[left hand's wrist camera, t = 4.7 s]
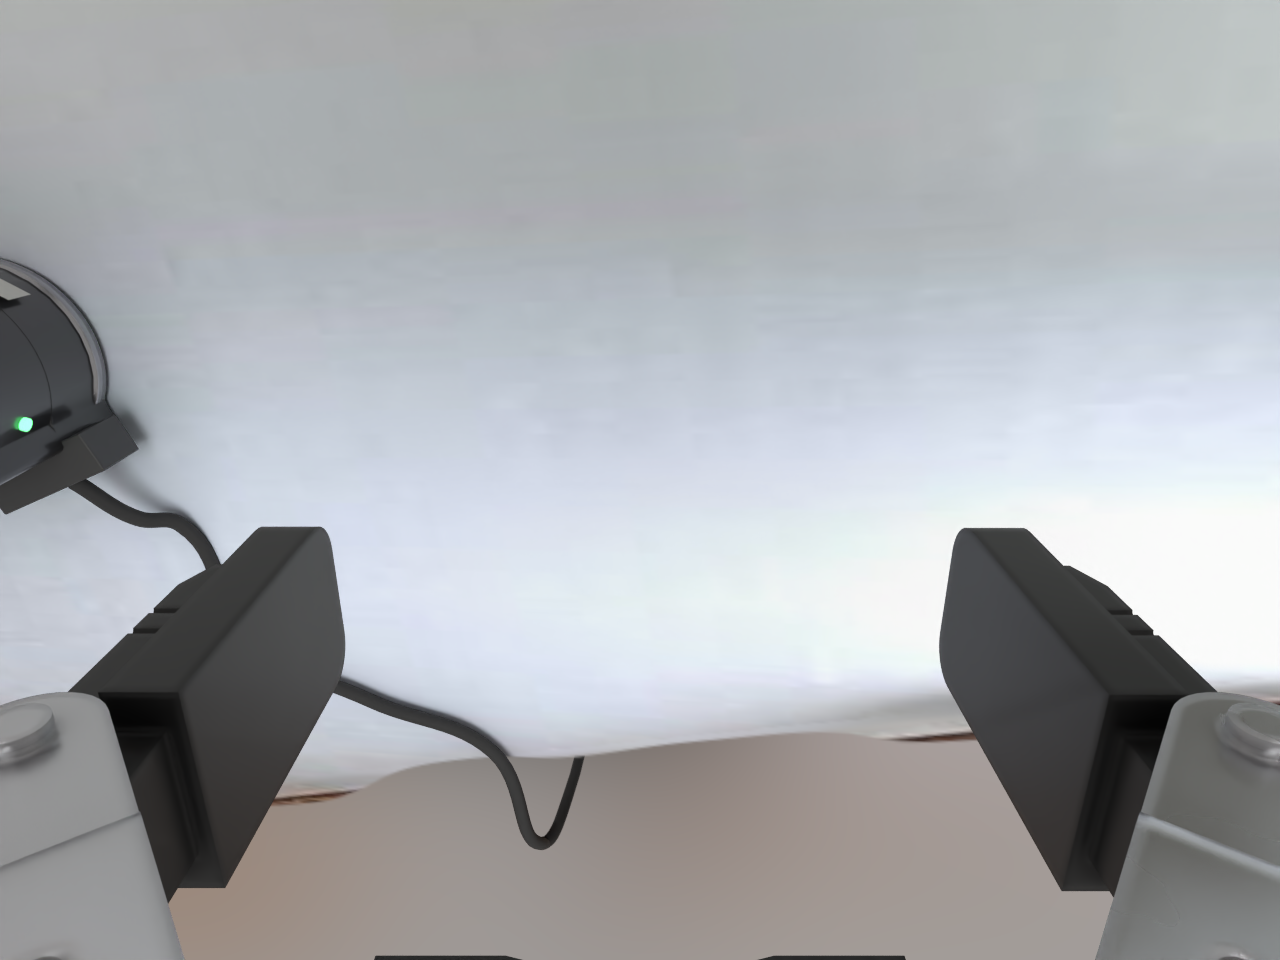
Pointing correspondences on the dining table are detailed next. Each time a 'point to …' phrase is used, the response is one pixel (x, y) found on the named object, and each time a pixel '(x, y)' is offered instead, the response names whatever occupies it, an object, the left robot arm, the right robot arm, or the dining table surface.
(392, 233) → the dining table surface
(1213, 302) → the dining table surface
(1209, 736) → the left robot arm
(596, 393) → the dining table surface
